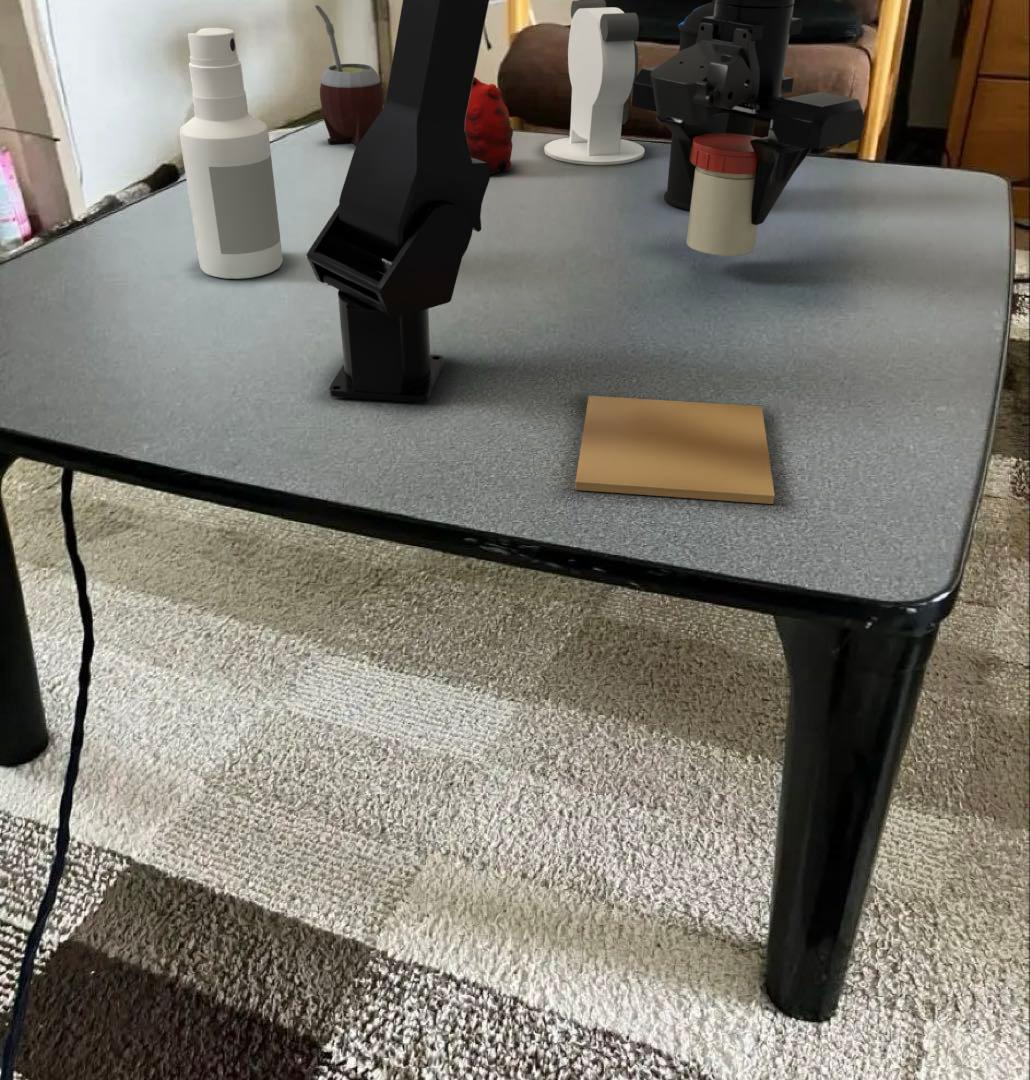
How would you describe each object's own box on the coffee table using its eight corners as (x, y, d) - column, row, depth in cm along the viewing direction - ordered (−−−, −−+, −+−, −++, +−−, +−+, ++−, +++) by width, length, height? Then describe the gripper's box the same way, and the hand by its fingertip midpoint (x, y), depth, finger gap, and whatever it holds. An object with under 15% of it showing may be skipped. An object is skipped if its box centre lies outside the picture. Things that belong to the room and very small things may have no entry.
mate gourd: (378, 132, 130) (369, -7, 121) (393, 148, 123) (385, 2, 115) (315, 136, 128) (303, -5, 119) (327, 153, 121) (315, 5, 113)
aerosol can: (759, 197, 109) (789, -26, 98) (727, 218, 103) (755, -17, 92) (685, 184, 112) (705, -33, 101) (649, 204, 106) (667, -24, 95)
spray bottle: (264, 283, 87) (234, 41, 77) (185, 276, 88) (146, 36, 78) (295, 255, 93) (271, 26, 83) (221, 249, 94) (188, 22, 84)
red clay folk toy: (526, 169, 117) (529, 16, 108) (482, 182, 112) (481, 23, 104) (475, 156, 121) (473, 8, 112) (430, 168, 116) (425, 15, 108)
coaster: (773, 504, 60) (775, 495, 59) (574, 490, 61) (575, 481, 61) (760, 414, 69) (762, 406, 69) (588, 403, 70) (588, 395, 70)
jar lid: (755, 154, 89) (758, 133, 88) (785, 174, 84) (789, 151, 83) (679, 154, 88) (682, 133, 87) (705, 174, 83) (708, 151, 82)
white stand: (662, 162, 119) (674, 12, 111) (564, 169, 117) (570, 16, 108) (622, 136, 129) (631, -3, 121) (531, 142, 126) (534, 0, 118)
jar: (756, 258, 87) (771, 163, 83) (686, 253, 87) (698, 158, 83) (752, 238, 91) (766, 147, 87) (685, 233, 92) (696, 142, 88)
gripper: (587, -4, 81) (577, 205, 90) (787, 29, 69) (754, 266, 78) (687, -13, 87) (669, 183, 96) (887, 15, 75) (846, 236, 84)
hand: (728, 215), depth 88 cm, fingers closed on jar, jar lid, 6 cm apart
